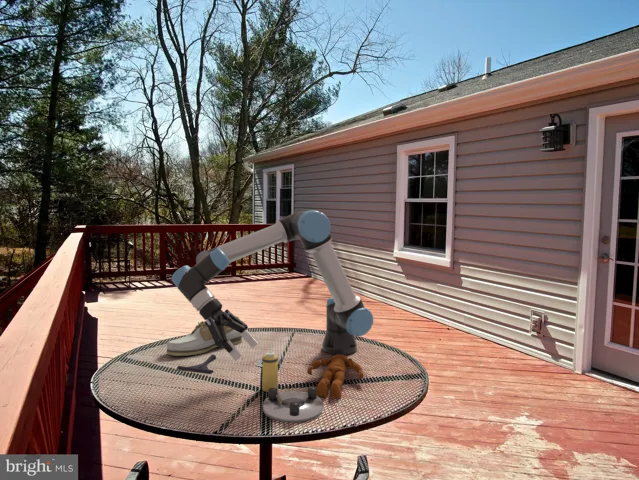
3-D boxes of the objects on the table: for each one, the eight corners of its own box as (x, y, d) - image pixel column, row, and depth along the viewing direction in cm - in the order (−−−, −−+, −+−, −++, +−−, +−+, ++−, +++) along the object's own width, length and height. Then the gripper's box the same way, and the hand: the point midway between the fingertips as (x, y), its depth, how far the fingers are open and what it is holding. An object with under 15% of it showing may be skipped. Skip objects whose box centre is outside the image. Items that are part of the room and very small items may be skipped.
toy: (359, 404, 135) (367, 367, 164) (359, 383, 134) (367, 350, 163) (298, 398, 138) (316, 363, 168) (298, 378, 138) (316, 346, 167)
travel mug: (277, 385, 146) (277, 350, 145) (277, 391, 141) (278, 355, 140) (262, 386, 145) (262, 351, 144) (261, 392, 140) (262, 356, 139)
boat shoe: (159, 354, 177) (158, 325, 176) (229, 337, 204) (229, 311, 203) (176, 362, 168) (176, 331, 167) (247, 342, 195) (247, 316, 194)
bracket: (230, 362, 170) (230, 355, 170) (211, 375, 156) (211, 367, 156) (198, 358, 174) (198, 352, 174) (177, 371, 160) (176, 364, 160)
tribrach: (319, 394, 139) (319, 381, 138) (326, 421, 121) (326, 405, 121) (263, 396, 137) (263, 382, 136) (262, 423, 119) (262, 407, 119)
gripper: (217, 304, 159) (254, 348, 156) (179, 320, 135) (223, 371, 132) (230, 291, 158) (268, 334, 155) (195, 304, 133) (239, 356, 131)
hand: (247, 352), depth 143 cm, fingers open, 13 cm apart
